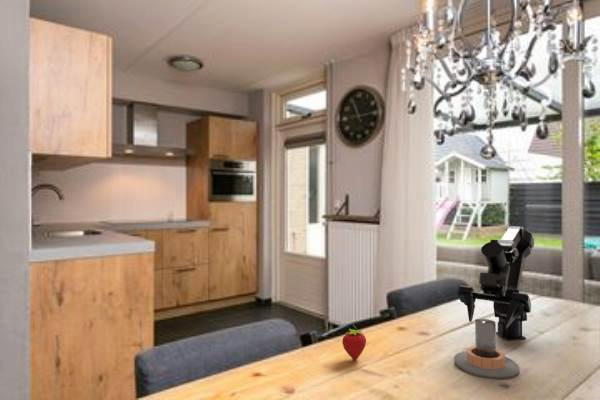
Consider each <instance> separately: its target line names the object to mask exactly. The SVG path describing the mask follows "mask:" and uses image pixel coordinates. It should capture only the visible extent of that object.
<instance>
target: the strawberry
mask: <svg viewBox="0 0 600 400" xmlns="http://www.w3.org/2000/svg"><path fill="white" fill-rule="evenodd" d="M353 327H354V328H355V329H351V328H349V329H348V331H347V332H345V335H343V337H342V347H343V349H344V351H346V353H347V354H348V356H349V357H350V358H351V360H353V361H357V360H358V359H359V358H360V356H361V354H362V352H364V349H365V348H366V344H367V338H366V336H365V334H364V333H363V330H362V329H361V330H359V329H358V330H357V327H356V326H355V325H353Z"/></svg>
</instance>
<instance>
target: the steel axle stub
mask: <svg viewBox="0 0 600 400" xmlns="http://www.w3.org/2000/svg"><path fill="white" fill-rule="evenodd" d="M474 324H475V325H474V328H475V331H474V332H475V333H474V334H475V335H474V337H475V346H476V355H477V356H481V357H486V358H496V349H497V345H496V344H497V341H496V339H497V337H496V336H497V334H496V332H497V331H496V329H497V327H496V326H497V325H496V324H497V323H496V321H495V320H492V319H487V318H476V319H475V320H474Z"/></svg>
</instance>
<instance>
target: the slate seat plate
mask: <svg viewBox="0 0 600 400" xmlns="http://www.w3.org/2000/svg"><path fill="white" fill-rule="evenodd" d="M453 363H454V365H455V366H456V367H457V368H458V369H460V370H461V371H463V372H465V373H468V374H469V375H472V376H477V377H482V378H484V379H485V378H486V379H492V380H493V379H494V380H495V379H496V380H505V379H512V378H514V377H517V376H518V375H519V374H520V366H519V364H518V363H517V362H516V361H515V360H513V359H512V358H509V357H507V356H506V355H505V353H504V352H502V351H501V350H499V349H497V348H496V358H486V357H481V356H477V355H476V345H474V346H470V347H468V348H466V350H465V351H460V352H458V353H456V354H454V356H453Z"/></svg>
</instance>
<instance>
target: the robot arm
mask: <svg viewBox="0 0 600 400" xmlns="http://www.w3.org/2000/svg"><path fill="white" fill-rule="evenodd" d="M533 248H535V238H534V237H533V234H532V233H531V232H529V231H527V230H526V229H525V228H524V227H523V226H513V225H512V226H511V225H510V226H507V227H506V231H505V232H504V234H502V237H501V238H500V239H499V240H498V239H490V241H489V242H486V243H485V244H484V245H482V247H481V249H480V252H481V254H482V257H483V261H484V262H485V266H486V267H488V268H487V271H486V272H480V273H479V280H478V281H479V282H478V284H479V285H480V290H481V291H482V292H481V291H474V288H473V286H468V285H459V286H457V289H456V295H457V296H458V299H459V301H460V302H461V303H463V305H465V306H466V308H467V316H468V321H469V322H470V323H472V321H473V317H474V313H475V308H476V304H475V302H476V300H483V301H490V302H492V303H493V305H492V307H493V314H494V318H498V321H497V331H496V336H497V335H498V336H499V337H501V338H503V339H505V340H506V341H507V340H508V341H513V340H514V341H515V340H526V339H527V338H526V336H524V335H523V322H527V321H528V314H529V313H531V311H532V302H531V298H530V295H529V294H528V293H525V292H520V289H521V281H522V276H523V270H524V264H525V259H526V258H527V257H528V256H530V255H532V254H531V253H532V249H533Z"/></svg>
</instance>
